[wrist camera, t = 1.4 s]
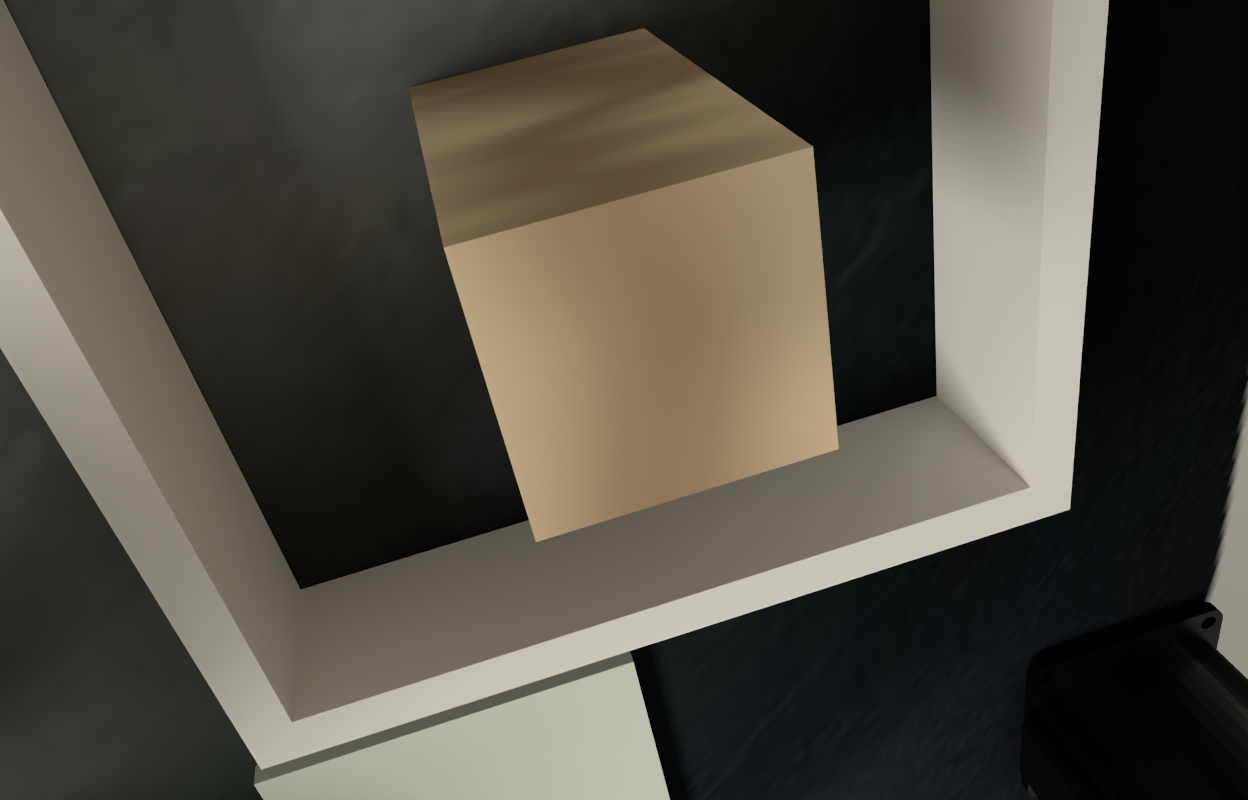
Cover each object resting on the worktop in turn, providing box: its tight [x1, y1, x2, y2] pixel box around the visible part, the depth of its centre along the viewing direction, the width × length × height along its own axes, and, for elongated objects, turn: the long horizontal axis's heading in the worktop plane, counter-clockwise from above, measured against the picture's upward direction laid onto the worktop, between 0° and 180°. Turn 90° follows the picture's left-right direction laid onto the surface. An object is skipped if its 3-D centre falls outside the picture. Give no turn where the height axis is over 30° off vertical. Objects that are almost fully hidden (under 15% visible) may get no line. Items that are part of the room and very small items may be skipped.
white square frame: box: [0, 0, 1109, 770], centre depth 18 cm, size 18×18×4 cm
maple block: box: [408, 28, 839, 542], centre depth 16 cm, size 4×4×8 cm
